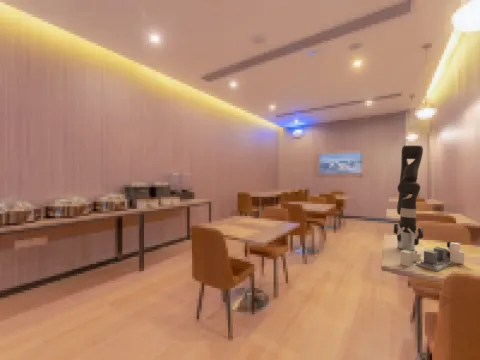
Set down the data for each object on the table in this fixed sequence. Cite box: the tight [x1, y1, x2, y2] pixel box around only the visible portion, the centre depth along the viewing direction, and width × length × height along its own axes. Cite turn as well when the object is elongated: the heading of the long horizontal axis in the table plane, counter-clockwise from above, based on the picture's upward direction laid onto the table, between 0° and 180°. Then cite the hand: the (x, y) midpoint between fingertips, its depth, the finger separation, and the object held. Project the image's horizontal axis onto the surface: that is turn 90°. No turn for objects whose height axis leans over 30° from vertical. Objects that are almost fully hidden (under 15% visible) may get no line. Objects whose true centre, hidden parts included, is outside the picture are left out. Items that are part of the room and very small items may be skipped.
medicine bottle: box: [445, 240, 465, 265], centre depth 138 cm, size 7×7×12 cm
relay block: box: [412, 250, 422, 263], centre depth 139 cm, size 4×4×6 cm
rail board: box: [415, 246, 455, 272], centre depth 133 cm, size 10×22×9 cm, turn 118°
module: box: [399, 249, 415, 268], centre depth 133 cm, size 4×5×8 cm
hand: (407, 243), depth 132 cm, fingers open, 8 cm apart
